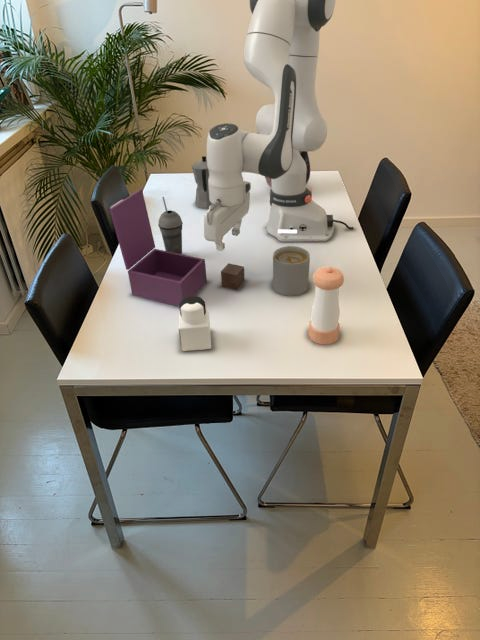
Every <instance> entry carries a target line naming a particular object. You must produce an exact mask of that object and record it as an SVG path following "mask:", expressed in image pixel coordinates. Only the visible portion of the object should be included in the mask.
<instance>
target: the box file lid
mask: <svg viewBox="0 0 480 640" xmlns="http://www.w3.org/2000/svg"><path fill="white" fill-rule="evenodd" d="M109 213H110V216H111V218H112V223H113V226H114V230H115V234H116V238H117V242H118V245H119V249H120V252H121V256H122V260H123V263H124V266H125V270H126V271H129V270H130V269H131V268H132V267H133V266H135V265H136V264H137V263H138V262H139V261H141V260H142V259H143V258H144V257H145V256H147V255H148V254H149V253H150V252H151V251H153V250H154V249H156V243H155V239H154V235H153V231H152V226H151V222H150V218H149V213H148V209H147V206H146V200H145V196H144V192H143V189H141V188H140V189H137V190H136V191H135V192H133V193H132V194H130V195H129V196H127V197H125V198H124V199H120V200H119V201H117V202H116V203H114V204H113V205H111V206H110V207H109Z"/></svg>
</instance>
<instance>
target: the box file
mask: <svg viewBox="0 0 480 640" xmlns="http://www.w3.org/2000/svg"><path fill="white" fill-rule="evenodd" d="M206 268H207V265H206V259H205V258H203V257H198V256H192V255H187V254H183V253H182V254H178V253H173V252H168V251H166V250H163V249H158V248H154V249H153V250H152V251H150V252H149V253H148V254H147V255H146V256H144V257H143V258H142V259H141V260H140V261H138V262H137V263H136V264H135V265H134V266H133V267H131V268H130V269H129V270H127V275H128V280H129V285H130V291H131V295H132V296H134V297H138V298H142V299H146V300H150V301H155V302H159V303H163V304H167V305H171V306H175V307H179V303H180V302H181V300H183V299H184V298H186V297H189V296H197V294H198V293H199V292H200V291H201V290H202V289H203V288H204V286H206V285H207V284H208V277H207V269H206Z"/></svg>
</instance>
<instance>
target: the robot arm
mask: <svg viewBox="0 0 480 640" xmlns="http://www.w3.org/2000/svg"><path fill="white" fill-rule="evenodd" d="M335 7H336V0H249V8H250V12H251V17H250V21H249V25H248V27H247V33H246V38H245V41H244V47H243V63H244V65H245V68H246V70H247V71H248V73H249V74H250V75H251V76H252V77H253V78H254V79H255V80H257V81H258V82H260V83H261V84H263V85H265V86H266V87H268V88H269V89H270V91H271V92H272V94H273V98H274V103H269V104H265V105H263V106H262V107H261V108H259V110H258V112H257V114H256V116H255V124H254V125H255V129H256V131H257V132H253V131H249V130H244V129H243V130H242V129H240V128H239V126H238V125H237V124H234V123H226V122H225V123H220V124H217V125H215V126H213V127H212V128H210V130H209V131H208V133H207V137H206V138H207V139H206V160H207V167H208V170H209V179H208V186H209V200H210V202H211V203H213V204H212V205H210V206H209V209H207V210H206V212H205V214H204V218H203V237H204V239H205V240H206V241H208V242H213V243H214V244H215V247H216V248H215V249H216V251H219V252H223V251H224V250H225V248H226V243H225V242H224V241H223V239H224V236H225V235H227V234H228V233H229V232H230V231H231V235H232V236H235V237H237V236H238V235H240V234H241V225H242V223H243V218H245V216H246V215H247V214H249V211H250V203H251V201H250V200H251V193H250V191H251V189H252V183H251V181H250V182H249V181H247V180H246V181H245V180H244V177H243V172H245V173H251V174H256V175H260V176H262V177H264V178H265V177H268V178H271V188H270V189H269V206H270V211H269V217H268V222H267V225H266V231H267V233H268V234H269V235H271V236H273V237H275V238H276V239H277V240H278V241H280V242H283V243H286V242H287V243H288V242H290V243H291V242H292V243H293V242H295V243H298V242H299V243H300V242H301V243H302V242H303V243H304V242H307V243H308V242H313V243H314V242H316V243H317V242H319V243H320V242H322V243H323V242H324V243H325V242H327V241H329V240H330V239H331V238H332V237H333V234H334V231H335V230H334V229H335V227H334V223H337V224H341V225H344V227H345V228H346V229H347V230H354V227H353V226H349V225H348V224H347V223H346V222H344V221H341V220H337V219H334V216H333V214H327V211H326V210H325V208H323V206H320V204H318V203H316V201H314V200H313V192H312V191H313V189H312V188H310V189H308V188H307V184H306V172H307V167H306V163H305V161H304V160H303V158H302V157H301V155H300V153H299V151H307V152H316V151H318V150H319V149H320V148H321V147H322V146H323V145H324V143H325V142H326V139H327V135H328V126H327V123H326V121H325V119H324V117H323V116H322V114H321V112H320V109H319V106H318V102H317V96H316V77H317V69H318V67H317V66H318V59H319V51H320V50H319V49H320V30H321V28H323V27H325V26H326V24H328V23H329V21H330V20H331V19H332V16H333V14H334V10H335ZM258 133H259V134H258Z"/></svg>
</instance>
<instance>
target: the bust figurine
mask: <svg viewBox="0 0 480 640" xmlns="http://www.w3.org/2000/svg"><path fill="white" fill-rule="evenodd" d="M178 334H179V340H180V347H181V348H180V349H181V352H188V351H191V352H192V351H203V350H211V349H212V336H211V324H210V312H209V309H208V308H206V301H205V299H203V298H202V297H201V296H197V295H195V296H189V297H186V298H184V299H183V300H181V302H180V303H179V311H178Z"/></svg>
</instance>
